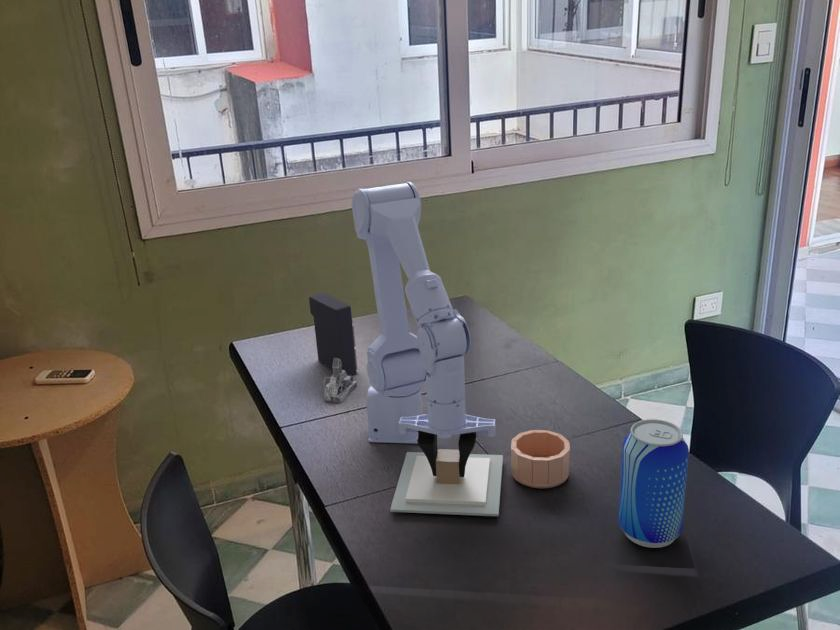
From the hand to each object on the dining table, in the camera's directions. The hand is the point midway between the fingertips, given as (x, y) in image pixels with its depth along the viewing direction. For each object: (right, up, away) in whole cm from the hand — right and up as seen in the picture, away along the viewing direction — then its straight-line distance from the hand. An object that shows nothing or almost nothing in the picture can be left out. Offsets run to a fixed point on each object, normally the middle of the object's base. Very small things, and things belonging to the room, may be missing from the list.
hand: (449, 473), depth 121 cm
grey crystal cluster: (-22, +9, +33) cm, 41 cm away
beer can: (+27, -6, -13) cm, 31 cm away
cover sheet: (0, -1, +1) cm, 1 cm away
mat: (0, -2, +1) cm, 2 cm away
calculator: (-22, +13, +43) cm, 50 cm away
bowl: (+15, 0, +2) cm, 15 cm away
